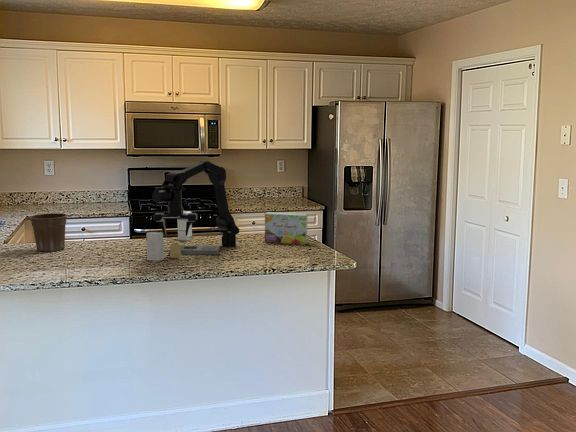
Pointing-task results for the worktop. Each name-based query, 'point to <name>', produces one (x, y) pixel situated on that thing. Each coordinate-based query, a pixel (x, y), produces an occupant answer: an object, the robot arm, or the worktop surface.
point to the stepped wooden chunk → (176, 250)
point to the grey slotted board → (200, 249)
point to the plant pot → (49, 231)
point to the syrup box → (184, 228)
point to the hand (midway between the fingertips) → (176, 236)
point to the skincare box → (155, 246)
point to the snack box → (286, 228)
